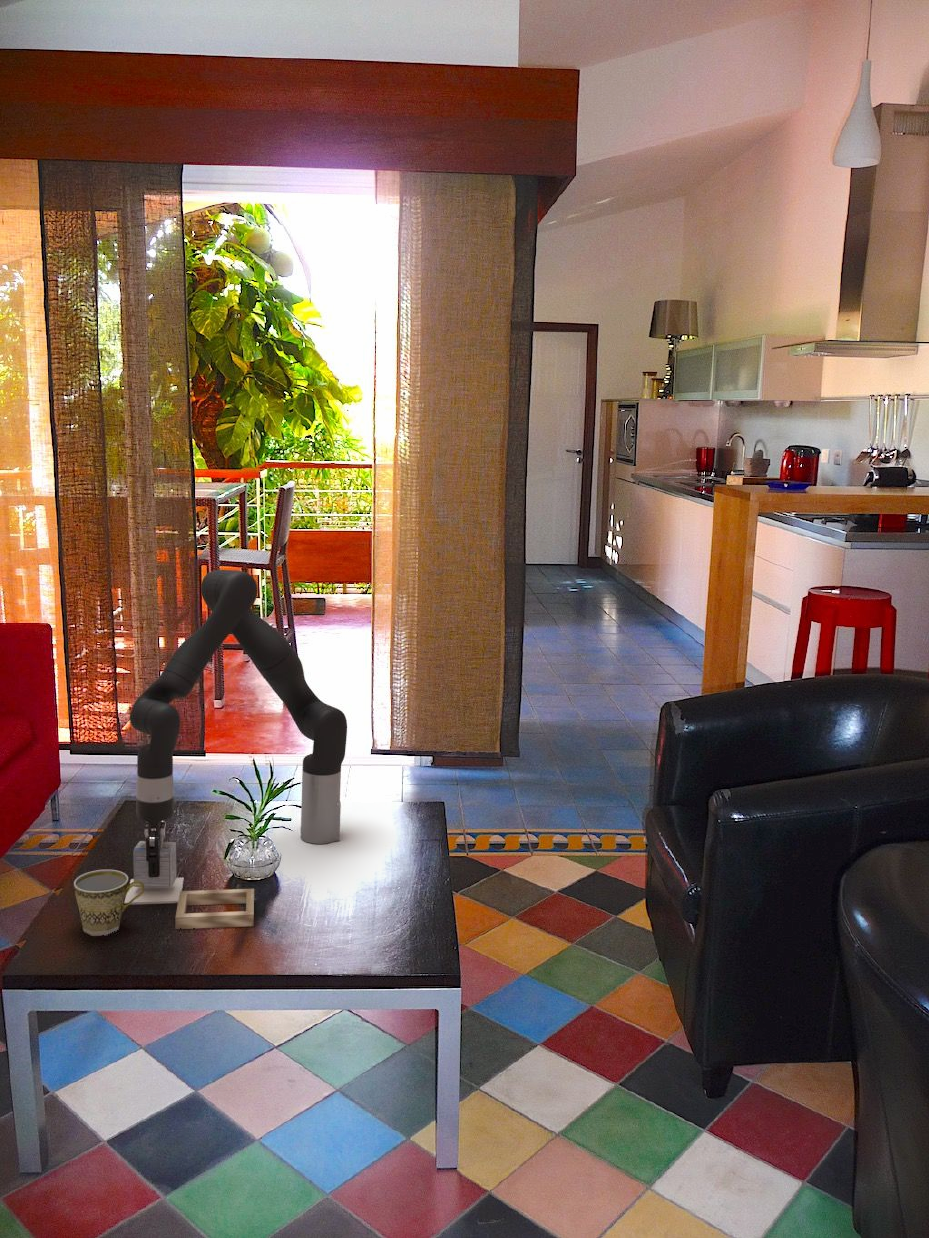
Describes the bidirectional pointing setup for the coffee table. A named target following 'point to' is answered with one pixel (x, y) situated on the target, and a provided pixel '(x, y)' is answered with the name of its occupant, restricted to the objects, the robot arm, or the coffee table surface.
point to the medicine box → (166, 866)
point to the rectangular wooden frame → (215, 918)
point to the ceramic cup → (102, 900)
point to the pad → (155, 894)
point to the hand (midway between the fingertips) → (155, 870)
